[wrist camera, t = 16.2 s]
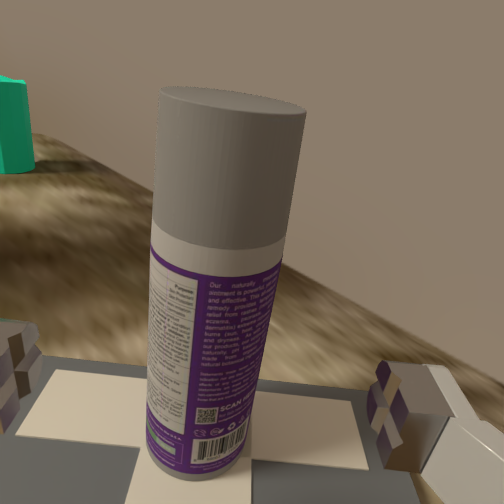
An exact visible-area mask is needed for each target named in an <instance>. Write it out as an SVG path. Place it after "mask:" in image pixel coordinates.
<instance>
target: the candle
mask: <svg viewBox="0 0 504 504" xmlns="http://www.w3.org/2000/svg"><path fill="white" fill-rule="evenodd" d="M34 168H35V161H34V152H33V142H32V133H31V124H30V114H29V105H28V96H27V87H26V83H25V81H24V80H13V79H10V78H7V77H4V76H1V75H0V173H1V174H15V173H23V172H28V171H31V170H33V169H34Z"/></svg>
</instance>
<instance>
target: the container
mask: <svg viewBox="0 0 504 504" xmlns="http://www.w3.org/2000/svg"><path fill="white" fill-rule="evenodd" d="M305 118H306V110H305V109H303V108H302V107H300V106H297V105H294V104H291V103H288V102H284V101H280V100H276V99H271V98H267V97H262V96H257V95H252V94H246V93H239V92H233V91H226V90H218V89H208V88H198V87H197V88H196V87H165V88H161V89H160V90H159V105H158V122H157V139H156V157H155V175H154V192H153V210H152V228H151V243H150V282H149V321H148V360H147V400H146V446H147V450H148V453H149V455H150V457H151V459H152V460H153V462H154V463H155V464H156V465H157V466H158V467H159V468H160V469H161V470H162V471H164V472H165V473H166V474H168V475H170V476H172V477H174V478H177V479H181V480H185V481H204V480H209V479H212V478H215V477H217V476H219V475H222V474H223V473H225V472H226V471H228V470H229V469H230V468H231V467H232V466H233V465H234V464H235V463H236V462H237V461H238V459H239V458H240V456H241V454H242V451H243V449H244V445H245V441H246V437H247V432H248V427H249V422H250V417H251V412H252V407H253V402H254V397H255V392H256V387H257V382H258V377H259V372H260V367H261V362H262V357H263V352H264V347H265V342H266V337H267V332H268V327H269V322H270V317H271V312H272V307H273V302H274V297H275V292H276V287H277V282H278V277H279V272H280V267H281V262H282V257H283V249H284V243H285V237H286V231H287V224H288V218H289V213H290V207H291V201H292V195H293V189H294V182H295V177H296V172H297V165H298V160H299V154H300V148H301V142H302V136H303V129H304V124H305Z"/></svg>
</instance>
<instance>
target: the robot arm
mask: <svg viewBox="0 0 504 504" xmlns="http://www.w3.org/2000/svg"><path fill="white" fill-rule="evenodd" d="M38 338H39V332H38V326H37V325H36V324H35V323H33V322H26V321H18V320H11V319H3V318H0V434H4V433H5V432H6V430H7V429H8V427H9V426H10V424H11V423H12V421H13V420H14V418H15V416H16V415H17V413H18V412H19V410H20V403H19V400H20V399H21V398H23V397H25V396H27V395H28V394H30V393H31V392H32V390H33V389H34V387H35V386H36V384H37V382H38V379H39V376H40V373H41V370H42V352H41V351H40V350H39V349H38V348H37V347H36V346H35V342H36V341H37V340H38ZM375 373H376V375H377V378H378V381H377V382H376V383H374V384H373V385H371V386H370V389H369V392H368V395H367V407H366V408H367V416H368V420H369V423H370V426H371V427H372V428H373V429H374V430H375V431H376V432H377V433H378V434H379V435H378V438H377V440H376V446H377V449H378V452H379V455H380V458H381V461H382V464H383V467H384V469H387V470H395V471H403V472H412V473H420V474H421V475H420V476H421V477H422V478H423V479H424V480H425V481H426V483H427V484H428V485H429V486H430V487H431V488H432V490H433V491H434V492H435V493H436V494H437V495H438V497H439V498H440V499H441V500H442V501H443V502H444V504H504V434H503V433H502V432H501V431H499V430H498V429H497V428H495V427H494V426H493V425H491V424H490V423H489V422H487V421H482V420H480V419H479V418H478V416H477V415H476V413H475V411H474V410H473V408H472V406H471V405H470V403H469V402H468V400H467V398H466V397H465V395H464V394H463V392H462V390H461V389H460V387H459V386H458V384H457V382H456V381H455V379H454V378H453V376H452V374H451V373H450V371H449V370H448V369H447V368H446V367H445V366H442V365H430V364H414V363H405V362H395V361H385V360H382V361H381V362H380V363H379V365H378V367H377V370H376V372H375Z"/></svg>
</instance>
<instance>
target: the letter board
mask: <svg viewBox="0 0 504 504" xmlns="http://www.w3.org/2000/svg"><path fill="white" fill-rule="evenodd" d="M368 392H369V391H362V390H353V389H344V388H335V387H326V386H317V385H308V384H299V383H290V382H281V381H272V380H263V379H258V382H257V387H256V392H255V397H254V402H253V407H252V412H251V417H250V422H249V427H248V432H247V437H246V441H245V445H244V449H243V451H242V454H241V456H240V458H239V459H238V461H237V462H236V463H235V464H234V465H233V466H232V467H231V468H230V469H229V470H228V471H226V472H225V473H223V474H222V475H219V476H217V477H215V478H212V479H209V480H204V481H185V480H181V479H177V478H174V477H172V476H170V475H168V474H166V473H165V472H164V471H162V470H161V469H160V468H159V467H158V466H157V465H156V464H155V463H154V462H153V460H152V459H151V457H150V455H149V453H148V450H147V446H146V400H147V367H145V366H136V365H127V364H118V363H109V362H99V361H90V360H81V359H72V358H63V357H54V356H45V355H42V370H41V373H40V376H39V379H38V382H37V384H36V386H35V387H34V389H33V390H32V392H31V393H30V394H28V395H27V396H25V397H23V398H21V399H20V400H19V403H20V410H19V412H18V413H17V415H16V416H15V418H14V420H13V421H12V423H11V424H10V426H9V427H8V429H7V430H6V432H5V433H4V434H0V504H421V503H420V501H419V498H418V495H417V493H416V490H415V487H414V484H413V482H412V479H411V476H410V473H409V472H403V471H395V470H387V469H384V467H383V464H382V461H381V458H380V455H379V452H378V449H377V446H376V440H377V438H378V435H379V434H378V433H377V432H376V431H375V430H374V429H373V428H372V427H371V426H370V423H369V420H368V416H367V408H366V407H367V395H368Z"/></svg>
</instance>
